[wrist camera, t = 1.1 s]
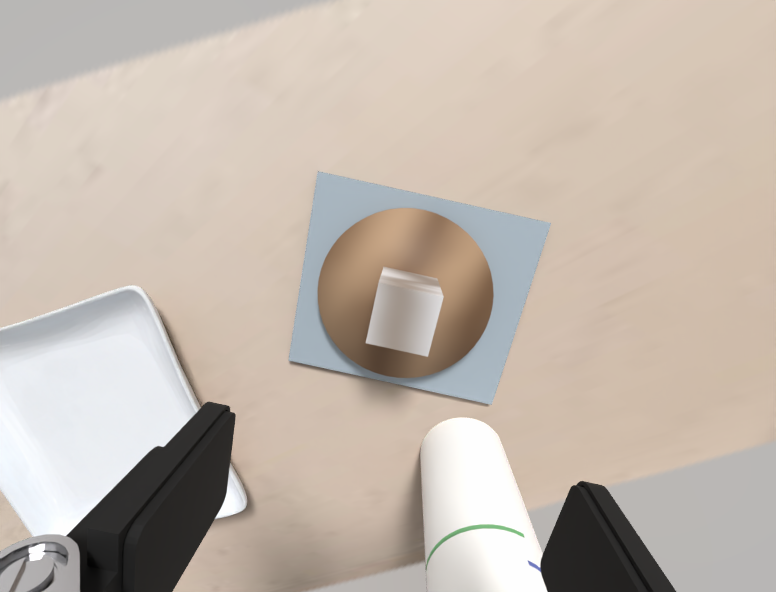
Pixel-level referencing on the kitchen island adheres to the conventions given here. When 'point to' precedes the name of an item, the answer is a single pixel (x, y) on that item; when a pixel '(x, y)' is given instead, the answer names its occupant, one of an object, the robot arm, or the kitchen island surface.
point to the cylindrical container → (474, 514)
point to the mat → (487, 228)
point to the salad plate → (88, 406)
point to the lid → (405, 293)
